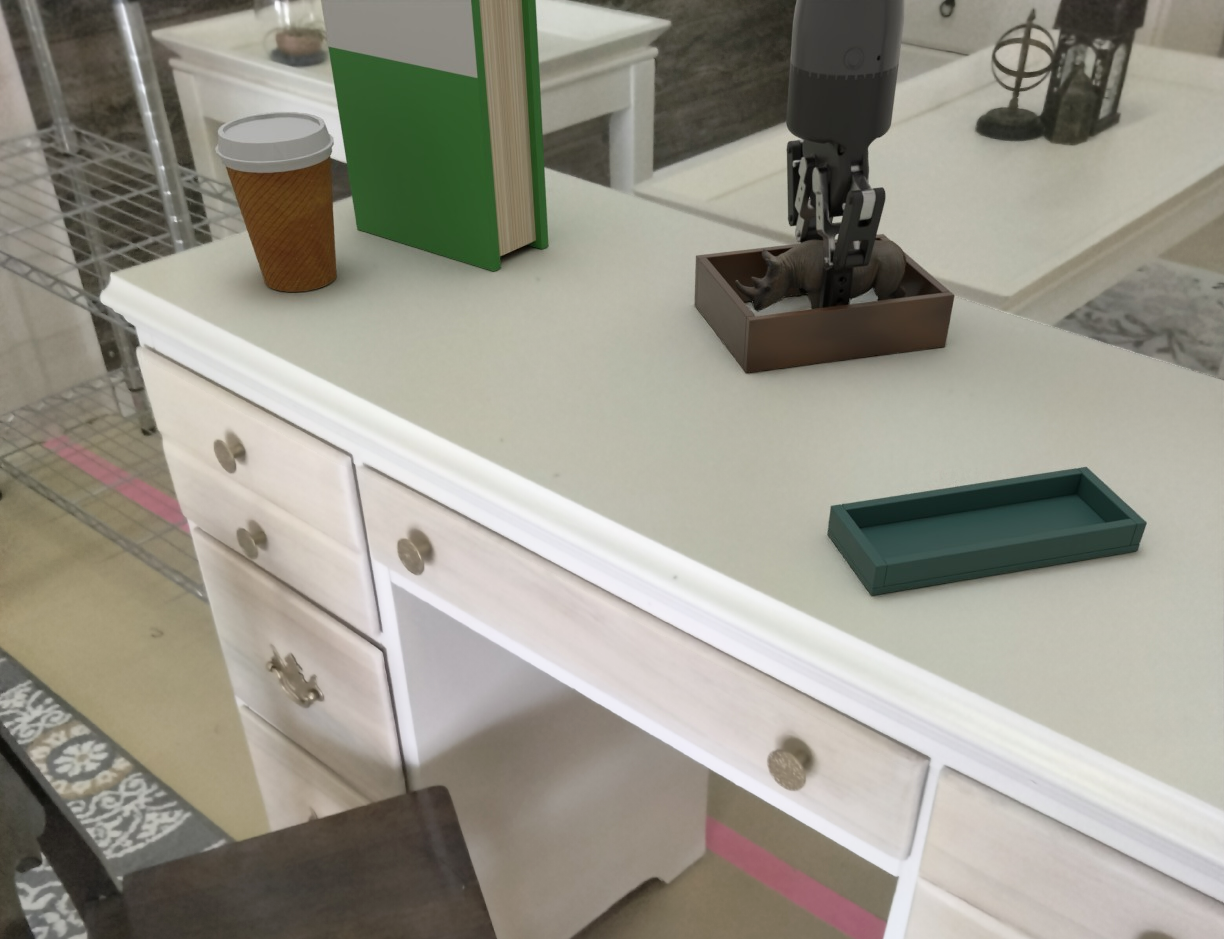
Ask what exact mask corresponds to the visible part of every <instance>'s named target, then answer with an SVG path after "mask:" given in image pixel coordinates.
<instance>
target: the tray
mask: <svg viewBox="0 0 1224 939" xmlns="http://www.w3.org/2000/svg"><path fill="white" fill-rule="evenodd" d="M1147 524H1148V523H1147V521H1146V520H1145V519H1144V518H1143V517H1142V516H1141V515H1139V513H1138V512H1136V511H1135V510H1134V509H1133V508H1132V507H1131V506H1130V505H1129V504H1128V503H1126V501H1125V500H1123V499H1122V498H1121V497H1120V496H1119V495H1118V494H1117V493H1116V492H1114V490H1112V488H1110V487H1109V485H1107V484H1106V483H1105V482H1104V481H1103V480H1101V479H1100V478H1099V477H1098V476H1097V475H1096V474H1095V473H1094V472H1093V471H1092V470H1091V469H1090V468H1089V467H1088V466H1083V467H1075V468H1067V469H1061V470H1056V471H1050V472H1042V473H1037V474H1036V473H1035V474H1030V475H1023V476H1017V477H1010V478H1002V479H997V480H990V481H984V482H978V483H977V482H976V483H971V484H964V485H959V486H958V485H957V486H951V487H945V488H944V487H943V488H939V489H932V490H923V491H920V492H911V493H905V494H900V495H899V494H898V495H893V496H892V495H891V496H887V497H880V498H873V499H866V500H859V501H854V502H847V503H842V504H833V505H830V508H829V518H828V525H827V536H828V537H829V538H830V540H831V541H832V542H833V545H835V546H836V548H837V549H838V551H839V552H840V554H841V555H842V557H843V558H844V559H845V561H846V562H847V564H848V566H850V568H851V569H852V570H853V572H854V573H855V575H856V576H857V577H858V579H859V580H860V582H861V583H862V585H863V586H864V587H865V589H866V590H867V591H868V593H869V595H871V596H877V595H883V594H888V593H895V592H903V591H907V590H913V589H919V588H925V587H931V586H937V585H943V584H949V583H954V582H955V583H956V582H962V581H967V580H972V579H973V580H974V579H979V578H985V577H990V576H997V575H1003V574H1008V573H1009V574H1010V573H1015V572H1020V571H1025V570H1026V571H1027V570H1032V569H1037V568H1043V567H1044V568H1045V567H1051V566H1056V565H1063V564H1068V563H1074V562H1080V561H1085V560H1091V559H1097V558H1103V557H1110V556H1116V555H1122V554H1128V553H1134V552H1138V551H1139V549H1140V544H1141V542H1142V540H1143V536H1144V533H1145V530H1146V527H1147Z"/></svg>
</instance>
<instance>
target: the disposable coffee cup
mask: <svg viewBox="0 0 1224 939" xmlns="http://www.w3.org/2000/svg"><path fill="white" fill-rule="evenodd" d="M334 145H335V140H334V137H333V136H332V135H331V133H329V130H328V128H327V125H326V123H325V120H324V119H323V118H322V117H320V116H317V115H315V114H310V113H307V112H306V113H305V112H301V111H300V112H298V111H269V112H262V113H255V114H249V115H244V116H242V117H241V116H240V117H237V118H235V119H232V120H229V121H226V122H225V123H223V124H221V126H219V127H218V130H217V144H216V146H215V153H216V156H217V157H218V158H220V161H221V164H222V165H224V166H225V169H226V172H227V176H228V179H229V180H230V181H229V182H230V184H231V186H232V190H233V193H234V196H235V199H236V202H237V204H238V207H239V210H240V213H241V216H242V219H243V223H244V225H245V228H246V231H247V234H248V237H249V241H250V243H251V246H252V248H253V252H254V254H255V257H256V260H257V263H258V266H259V269H260V272H261V275H262V278H263V281H264V284H265V286H266V287H268V288H270V289H271V290H276V291H280V292H287V293H291V292H297V293H298V292H308V291H313V290H318V289H320V288H322V287H326V286H328V285H330V284H331V283H332V282H334V281H335V280H336V278H337V276H338V273H337V272H338V271H337V256H336V237H335V220H334V218H335V217H334V201H333V199H334V198H333V196H334V195H333V183H332V182H333V180H332V161H331V155H332V154H333V147H334Z"/></svg>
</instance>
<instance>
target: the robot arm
mask: <svg viewBox="0 0 1224 939" xmlns="http://www.w3.org/2000/svg"><path fill="white" fill-rule="evenodd" d="M904 21H905V0H796V3H795V6H794V13H793V20H792V30H791V31H792V32H791V45H790V46H791V47H790V62H789V76H788V89H787V104H786V118H785V124H786V125H785V126H786V128H787V130H788V131H789V133H790V134H792V135H793V137H796V138H798V139H797V140H795V139H794V140H789V141H788V142H787V143H786V178H787V180H786V184H787V221H788V225H789V227H795V231H794V236H795V240H796V242H797V243H803V242H805V241H808V240H822V241H823V263H824V267H823V271H822V282H821V292H820V303H819V308H825V307H833V306H841V305H849V304H850V302H851V299H850V292H851V284H852V275H853V268H854V267H861V266H868V264H869V262H870V258H871V254H872V250H873V246H874V242H875V238H876V235H878V230H879V228H880V227H879V226H880V222H881V219H882V215H883V211H884V207H885V203H886V198H887V197H886V189H885V188H884V187H883V186H881V187H880V186H879V187H871V185H870V165H869V147H870V145H871V144H872V143H873V142H874V141H876V140H877V139H879V138H882V137H883V136H884V135H886V134H887V133H888V132H889V130H890V129H891V126H892V120H893V111H894V106H895V104H894V103H895V97H896V89H897V88H896V87H897V81H898V73H899V72H898V71H899V65H900V55H901V49H902V41H903V32H904V24H905V22H904ZM839 217H841V221H837V222H833V220H834V218H839ZM836 236H837V238H836ZM835 239H837V243H836V247H835ZM859 241H861V243H860V247H859ZM797 290H798V291H799V292H800V293H802V294H805V295H808V294H807V293H808V292H807V291H806V290H804V288H797Z"/></svg>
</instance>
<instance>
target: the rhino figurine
mask: <svg viewBox="0 0 1224 939" xmlns="http://www.w3.org/2000/svg"><path fill="white" fill-rule="evenodd" d="M860 243H861V241H860V242H859V247H860ZM797 244H798V245H796V246H795V247H793V248H791V249H790V250H788V251H786V252H785V253H782V254H780V255H779V256H776V257H775V256H773V255H772V254H770V253H769V252H768V251H766V250H765V249H763V250H762V257H763V259H764V260H765V261H766V265H767V266H768V270H767V273H766V276H765V277H764V278H762V279H759V278H756V277H752V278H751V279H752V281H753V283H754V286H755V287H746V286H743V285H741V284H740V283H739V281H738V280H736V281H735V284H736V287H737V289H738V290H739V291H740V292H741V293H742V294H743V295H745V296H746V297H747V298H749V299H750V300H751V301H750V302H751V303H752V307H753V309H754V311H756V312H759V311H764V310H765V309H767V308H769V307H771V306H773V305H775V304H777V303H778V302H780V301H781V300H783V299H784V298H785V297H784V296H785V295H786V294H787V292H788V290H789V289H790V288H791V287H794V288H804V290H806V291H807V292H808V294H807V297H808V300H809V302H810V307H811V308H810V309H817V308H819V303H820V292H821V282H822V271H823V267H824V263H823V241H822V240H808V241H805V242H803V243H801V242H799V243H797ZM835 247H836V245H835ZM904 252H905V251H904V250H903V249H902V247H901V246H900V245H898V244H897V242H895V241H893V240H891V239H890V240H884V241H879V240H875V242H874V246H873V250H872V254H871V258H870V262H869V264H868V266H861V267H854V268H853V275H852V284H851V292H850V300H852V299H855V298H859V297H860V296H863V295H864V294H866V293H868V292H869V291H871V290H873V291H874V294H875V296H876V297H877V300H876V301H881V300H889V299H897V298H904V296H905V295H906V291H905V289H904V288H903V286H902V285H901V284H900V282H901V280H902V277H903V276H904V275H905V266H906V256H905V253H906V252H905V253H904Z"/></svg>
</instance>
